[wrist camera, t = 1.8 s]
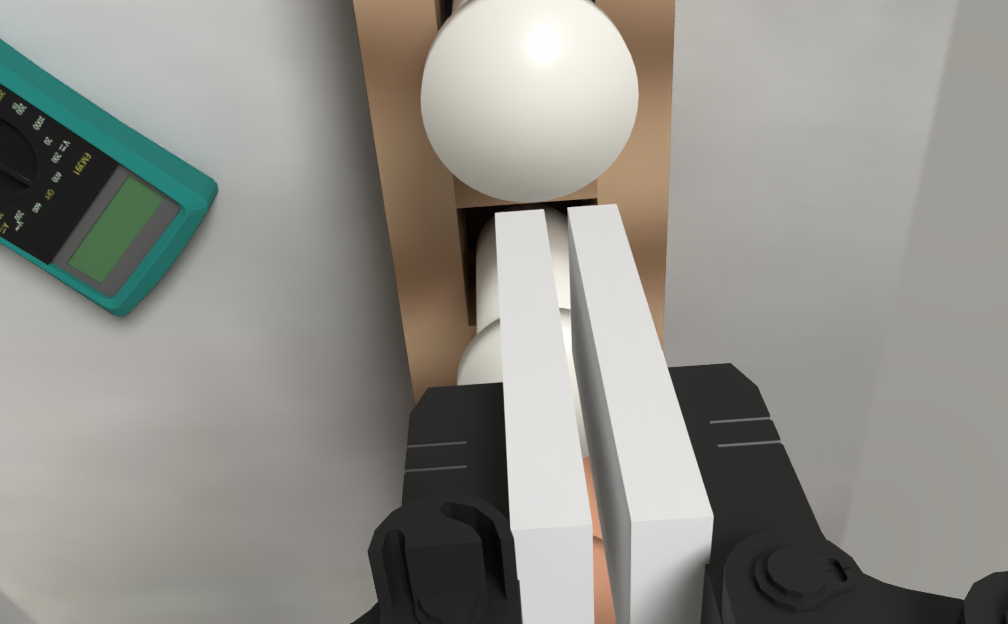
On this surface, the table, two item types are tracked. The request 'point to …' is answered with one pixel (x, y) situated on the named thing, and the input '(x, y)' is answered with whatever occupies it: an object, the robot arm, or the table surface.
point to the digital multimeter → (89, 190)
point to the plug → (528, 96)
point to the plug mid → (485, 347)
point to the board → (443, 197)
